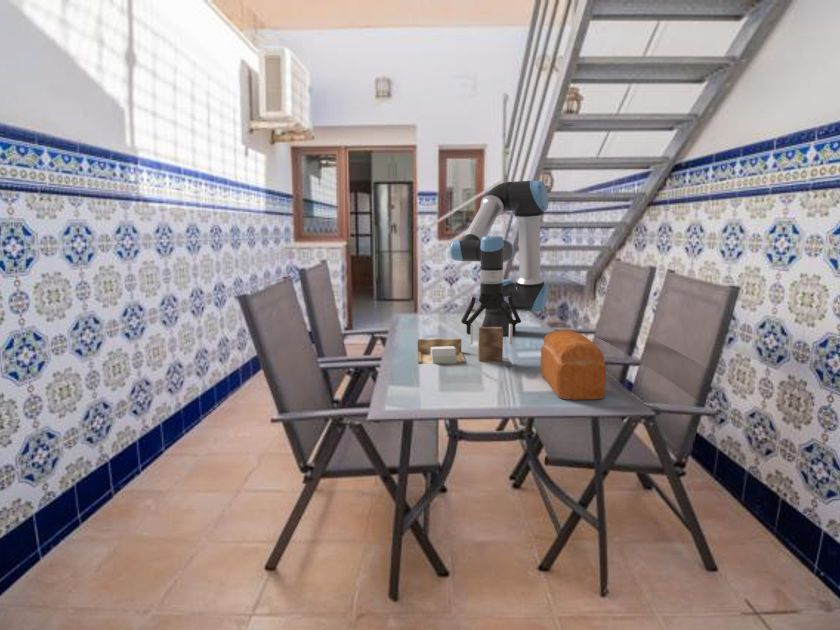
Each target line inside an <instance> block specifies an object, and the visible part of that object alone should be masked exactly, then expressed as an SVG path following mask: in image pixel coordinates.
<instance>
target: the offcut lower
mask: <svg viewBox="0 0 840 630" xmlns="http://www.w3.org/2000/svg"><path fill="white" fill-rule="evenodd" d="M456 359H457V356H456V353H455V356H433V363H449V364H457V363H456Z"/></svg>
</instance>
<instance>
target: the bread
mask: <svg viewBox="0 0 840 630" xmlns="http://www.w3.org/2000/svg"><path fill="white" fill-rule="evenodd" d="M540 352H541V353H540V374H541V376H542V377H543V378H544V380H545V381H546V382H547V384H548V386H549V387H550V388H551V389H552V390H553V392H554V393H555V394H556V396H557V397H558V398H560V399H561V400H562V399H563V400H571V399H572V400H579V401H582V400H583V401H585V400H586V401H589V400H601V399H602V398H604V397H605V394H606V382H607V365H606V363H605V355H604V354H603V353H602V350H600V348H599V347H598V346H597V345H596V344H595V343H594V342H593V341H592V340H591V339H589V338H587V337H586V336H584V334H581V333H579V332H577V331H574V330H570V329H556V330H554V331H551V332H549V333H547V334H546V335H545V336H544V338H543V345H542V346H541V350H540ZM572 400H571V401H572Z"/></svg>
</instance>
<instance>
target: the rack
mask: <svg viewBox="0 0 840 630" xmlns="http://www.w3.org/2000/svg"><path fill="white" fill-rule="evenodd" d="M442 346H454V347H455V353H456V356H457V359H456V363H455V364H466V360H465V358H464V357H465V356H464V354H463V352H462V338H417V364H419V365H420V364H422V365H423V364H425V365H432V364H433V365H435V364H438V365H439V364H441V365H442V364H444V365H445V364H448V365H449V364H450V363H433V356H432V355H431V347H442Z"/></svg>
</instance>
